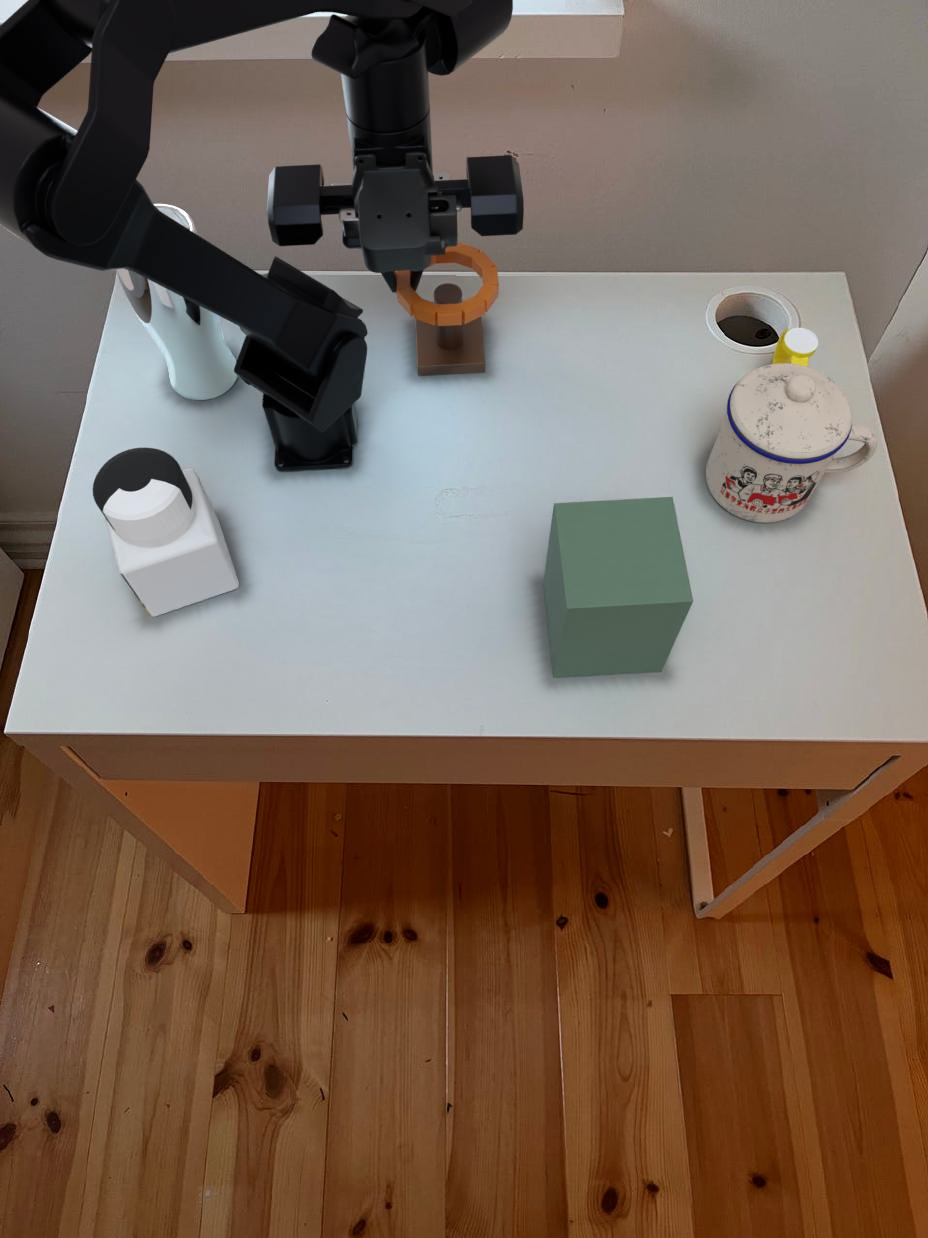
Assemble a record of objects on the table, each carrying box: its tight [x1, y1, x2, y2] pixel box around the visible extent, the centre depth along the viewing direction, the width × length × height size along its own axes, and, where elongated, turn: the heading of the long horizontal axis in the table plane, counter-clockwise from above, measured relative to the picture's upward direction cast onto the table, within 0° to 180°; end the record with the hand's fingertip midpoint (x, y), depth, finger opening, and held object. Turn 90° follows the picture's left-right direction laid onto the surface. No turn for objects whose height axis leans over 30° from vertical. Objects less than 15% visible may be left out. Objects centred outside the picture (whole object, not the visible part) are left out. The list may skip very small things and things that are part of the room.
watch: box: [771, 327, 819, 367], centre depth 76 cm, size 6×3×6 cm, turn 175°
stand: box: [414, 282, 486, 377], centre depth 78 cm, size 6×6×6 cm
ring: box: [396, 241, 500, 326], centre depth 74 cm, size 8×8×1 cm
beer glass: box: [115, 203, 239, 401], centre depth 73 cm, size 7×7×15 cm
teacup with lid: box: [705, 362, 878, 524], centre depth 68 cm, size 12×9×12 cm
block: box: [542, 496, 694, 679], centre depth 63 cm, size 8×8×11 cm
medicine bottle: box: [92, 447, 240, 618], centre depth 65 cm, size 7×7×12 cm
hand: (404, 288), depth 74 cm, fingers closed on ring, 1 cm apart
